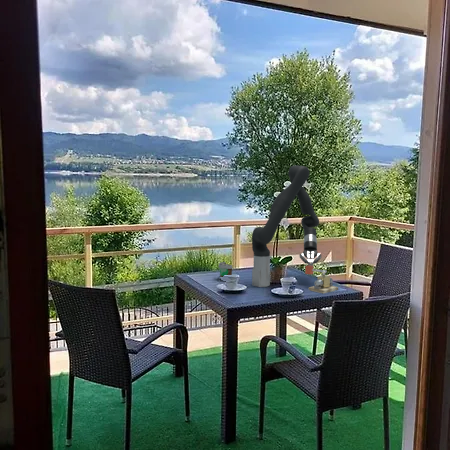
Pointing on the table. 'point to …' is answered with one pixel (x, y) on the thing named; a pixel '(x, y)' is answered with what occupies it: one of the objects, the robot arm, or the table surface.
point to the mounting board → (324, 289)
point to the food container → (225, 269)
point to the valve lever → (310, 270)
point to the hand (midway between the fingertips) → (310, 269)
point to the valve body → (323, 282)
